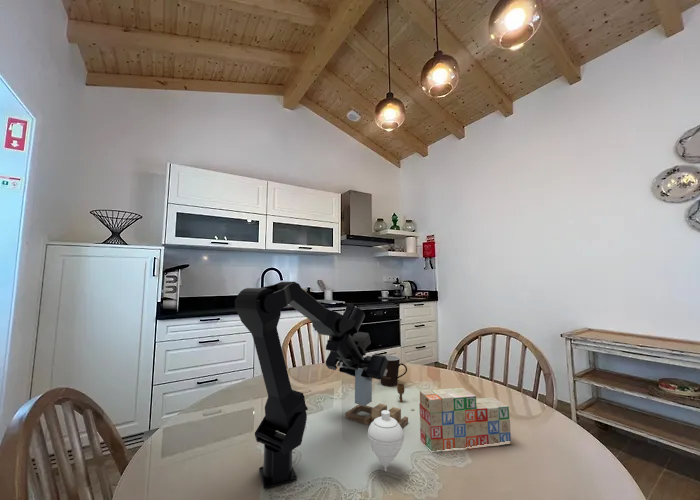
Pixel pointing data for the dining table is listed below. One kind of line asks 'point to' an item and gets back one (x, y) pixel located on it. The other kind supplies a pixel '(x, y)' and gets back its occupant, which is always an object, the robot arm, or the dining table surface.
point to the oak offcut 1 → (378, 411)
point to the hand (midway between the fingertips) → (365, 378)
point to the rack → (366, 420)
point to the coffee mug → (392, 371)
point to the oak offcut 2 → (395, 413)
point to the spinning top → (385, 438)
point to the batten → (362, 389)
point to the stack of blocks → (461, 419)
